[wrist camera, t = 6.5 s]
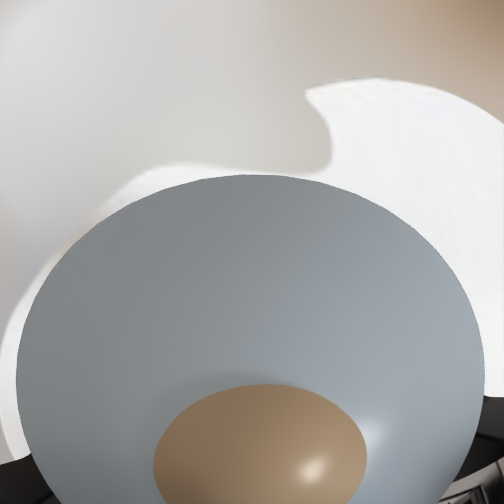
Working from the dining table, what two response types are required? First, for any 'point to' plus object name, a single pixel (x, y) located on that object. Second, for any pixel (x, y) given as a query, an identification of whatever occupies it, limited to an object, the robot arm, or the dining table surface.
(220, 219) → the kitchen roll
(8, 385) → the dining table surface
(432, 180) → the dining table surface
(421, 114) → the dining table surface
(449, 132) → the dining table surface
